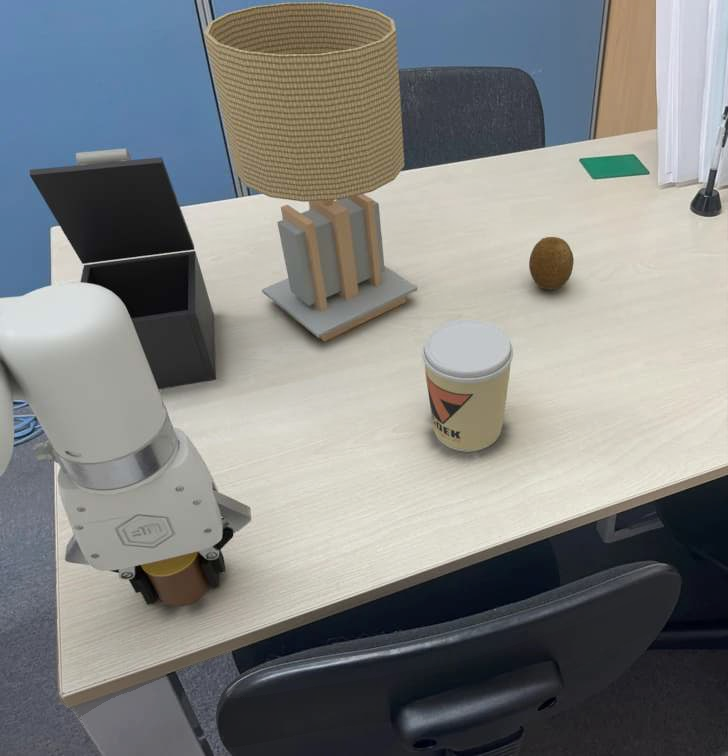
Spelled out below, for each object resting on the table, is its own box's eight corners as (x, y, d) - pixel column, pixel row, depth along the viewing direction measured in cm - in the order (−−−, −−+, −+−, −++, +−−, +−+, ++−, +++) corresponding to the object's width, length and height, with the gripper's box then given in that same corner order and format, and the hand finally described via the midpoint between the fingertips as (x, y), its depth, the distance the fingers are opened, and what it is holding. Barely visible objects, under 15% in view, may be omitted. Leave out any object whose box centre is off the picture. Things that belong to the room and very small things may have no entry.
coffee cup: (410, 420, 81) (404, 337, 73) (477, 388, 85) (478, 306, 77) (457, 470, 75) (455, 386, 67) (525, 434, 80) (532, 351, 72)
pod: (155, 613, 62) (137, 581, 59) (157, 568, 65) (140, 535, 62) (213, 599, 63) (199, 567, 60) (212, 555, 66) (199, 522, 63)
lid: (162, 162, 75) (159, 130, 77) (29, 175, 72) (30, 141, 74) (194, 249, 88) (191, 220, 90) (82, 264, 85) (81, 233, 87)
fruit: (536, 271, 105) (540, 223, 100) (576, 281, 103) (582, 233, 98) (521, 293, 101) (524, 243, 96) (562, 304, 99) (567, 254, 94)
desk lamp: (358, 250, 108) (328, -7, 85) (442, 306, 98) (434, 31, 75) (241, 299, 97) (170, 21, 74) (321, 367, 87) (267, 70, 64)
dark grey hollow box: (216, 379, 85) (195, 312, 79) (101, 399, 82) (69, 331, 75) (213, 314, 95) (195, 250, 88) (110, 329, 91) (83, 264, 85)
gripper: (-24, 508, 47) (76, 646, 59) (241, 455, 52) (284, 593, 64) (-2, 430, 53) (85, 571, 65) (237, 388, 57) (277, 528, 69)
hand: (183, 581), depth 64 cm, fingers closed on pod, 4 cm apart
